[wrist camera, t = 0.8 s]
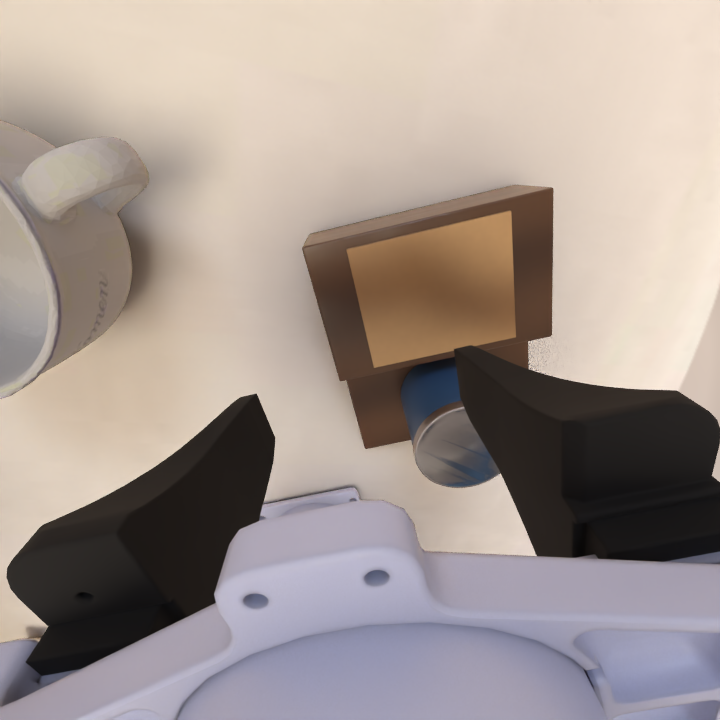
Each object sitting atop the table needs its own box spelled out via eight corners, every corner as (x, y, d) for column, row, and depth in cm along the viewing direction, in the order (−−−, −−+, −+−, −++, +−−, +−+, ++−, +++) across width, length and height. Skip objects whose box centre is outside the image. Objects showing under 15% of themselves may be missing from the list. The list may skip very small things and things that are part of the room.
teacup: (17, 348, 22) (-138, 431, 15) (-128, 140, 17) (-457, 118, 10) (243, 296, 21) (193, 358, 14) (157, 64, 17) (16, -18, 9)
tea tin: (484, 416, 24) (519, 477, 19) (406, 431, 25) (422, 496, 20) (478, 346, 22) (516, 396, 17) (392, 364, 22) (407, 418, 17)
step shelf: (522, 405, 26) (553, 446, 22) (364, 438, 26) (368, 482, 22) (515, 184, 19) (556, 187, 16) (308, 234, 20) (301, 248, 16)
